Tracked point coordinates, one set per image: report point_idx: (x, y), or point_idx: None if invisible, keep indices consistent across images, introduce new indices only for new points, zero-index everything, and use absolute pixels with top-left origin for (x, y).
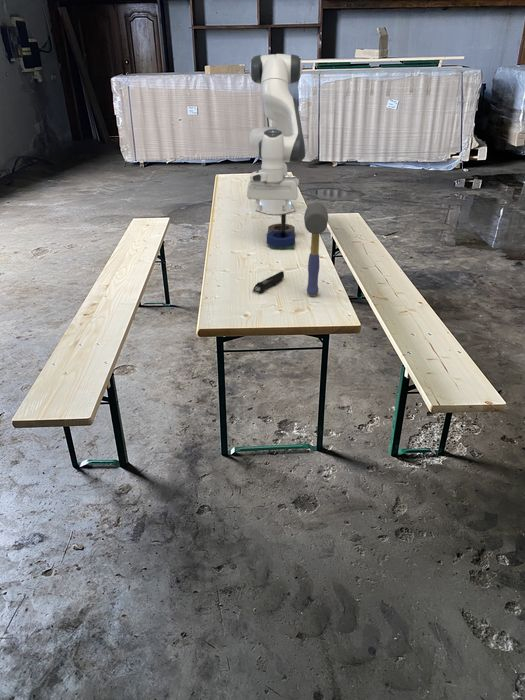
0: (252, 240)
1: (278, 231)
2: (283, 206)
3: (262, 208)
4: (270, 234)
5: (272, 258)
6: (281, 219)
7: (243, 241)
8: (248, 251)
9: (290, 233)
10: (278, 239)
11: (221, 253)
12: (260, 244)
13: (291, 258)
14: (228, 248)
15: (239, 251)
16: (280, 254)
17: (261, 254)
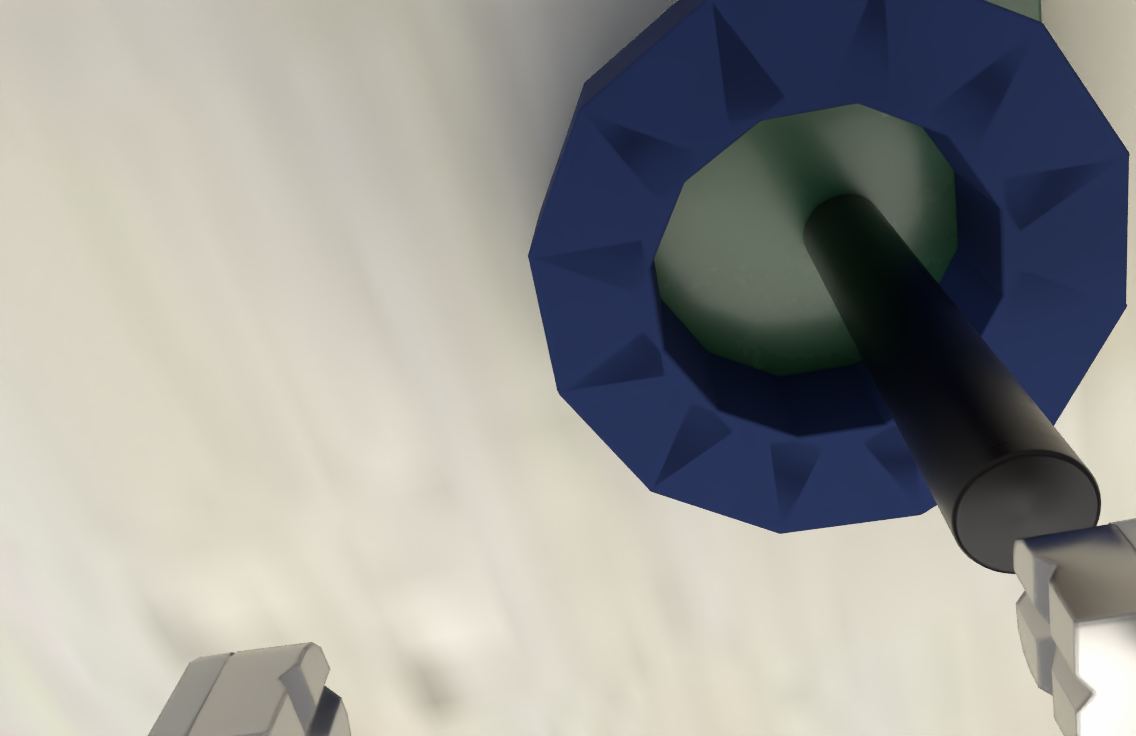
0: (232, 93)
1: (730, 58)
2: (1132, 720)
3: (306, 663)
4: (607, 298)
5: (769, 726)
6: (919, 466)
7: (110, 187)
8: (377, 575)
9: (1021, 127)
10: (818, 520)
11: (76, 705)
12: (441, 259)
13: (1025, 680)
14: (60, 532)
15: (259, 600)
16: (853, 584)
17: (589, 636)
